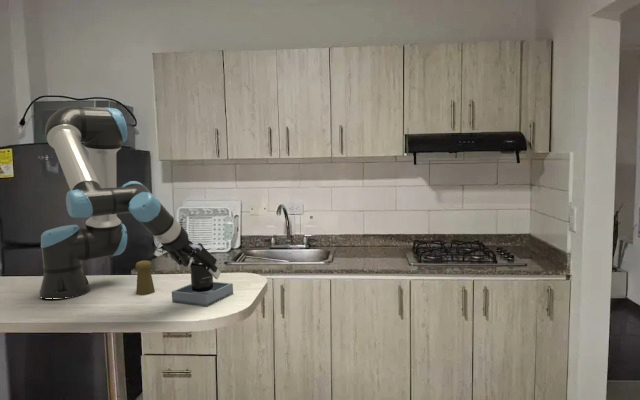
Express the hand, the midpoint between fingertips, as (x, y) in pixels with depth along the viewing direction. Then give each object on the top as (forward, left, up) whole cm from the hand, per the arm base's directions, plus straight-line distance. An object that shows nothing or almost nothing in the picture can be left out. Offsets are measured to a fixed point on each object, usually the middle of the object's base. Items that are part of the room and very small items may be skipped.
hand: (209, 274), depth 148 cm
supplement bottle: (0, -4, -4) cm, 6 cm away
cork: (-24, -4, -7) cm, 25 cm away
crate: (0, -3, -7) cm, 8 cm away
